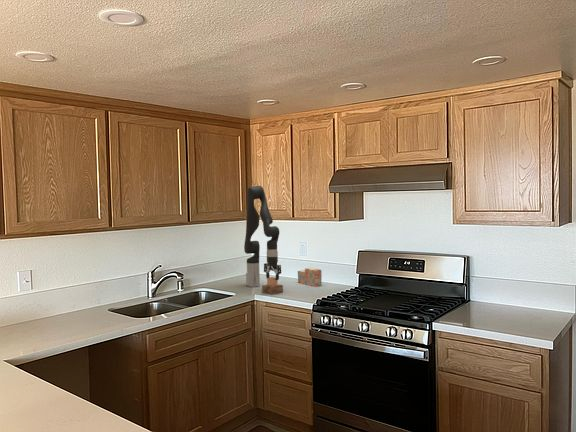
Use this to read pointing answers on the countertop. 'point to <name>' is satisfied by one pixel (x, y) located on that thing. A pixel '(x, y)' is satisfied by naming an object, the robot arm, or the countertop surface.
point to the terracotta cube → (272, 281)
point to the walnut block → (272, 289)
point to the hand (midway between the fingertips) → (272, 279)
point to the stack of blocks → (310, 277)
